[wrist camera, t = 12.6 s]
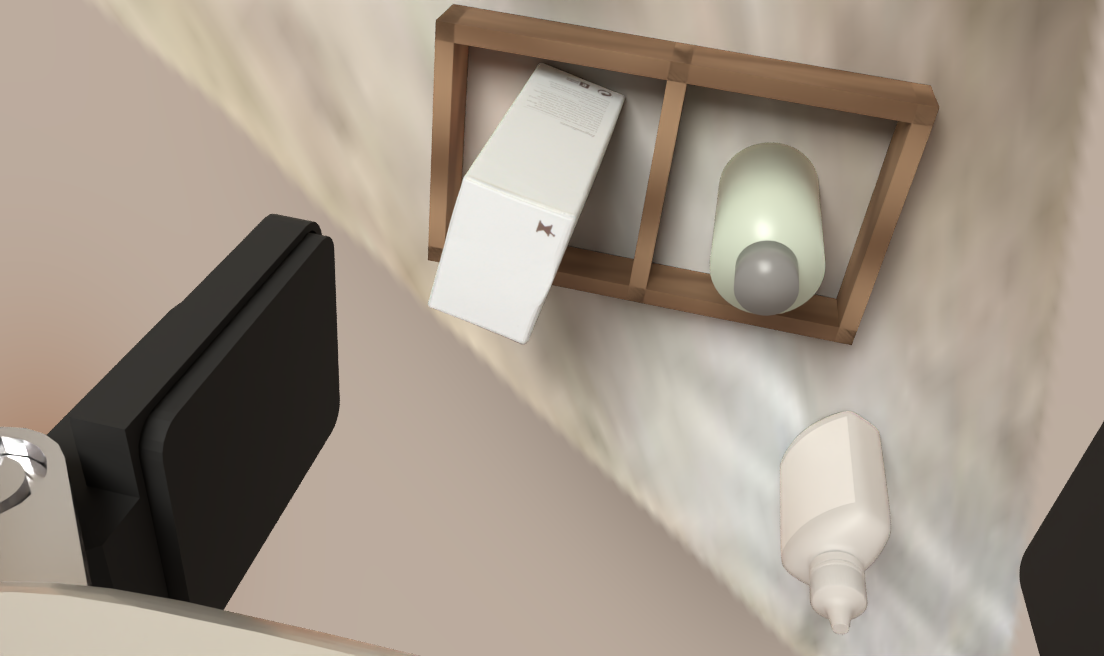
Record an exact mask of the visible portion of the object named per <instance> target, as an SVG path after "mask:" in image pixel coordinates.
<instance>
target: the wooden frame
mask: <svg viewBox="0 0 1104 656" xmlns="http://www.w3.org/2000/svg"><path fill="white" fill-rule="evenodd" d="M469 46H474V47H480V48H486V49H492V50H497V51H503V52H509V53H514V54H520V55H526V56H531V57H537V58H543V59H549V60H554V61H560V62H566V63H571V64H577V65H583V66H588V67H594V68H600V69H606V70H611V71H617V72H623V73H628V74H634V75H640V76H646V77H651V78H657V79H663V80H667V84H666V89H665V95H664V100H663V105H662V111H661V116H660V122H659V127H658V132H657V138H656V143H655V149H654V154H653V160H652V165H651V170H650V176H649V181H648V187H647V192H646V197H645V203H644V208H643V214H642V219H641V224H640V230H639V235H638V241H637V246H636V251H635V257H634V259H630V258H625V257H620V256H615V255H610V254H605V253H600V252H595V251H590V250H585V249H579V248H574V247H569V246H567V248H566V250H565V253H564V255H563V258H562V260H561V263H560V265H559V268H558V270H557V273H556V275H555V278H554V280H553V283H552V285H555V286H560V287H565V288H570V289H575V290H580V291H585V292H590V293H595V294H600V295H605V296H610V297H615V298H620V299H625V300H629V301H634V302H639V303H644V304H649V305H654V306H659V307H664V308H669V309H674V310H679V311H684V312H689V313H694V314H699V315H704V316H709V317H714V318H719V319H724V320H729V321H734V322H739V323H744V324H749V325H754V326H759V327H764V328H769V329H774V330H779V331H784V332H789V333H794V334H799V335H804V336H809V337H814V338H819V339H824V340H829V341H834V342H839V343H844V344H849V345H852V343H853V340H854V338H855V335H856V332H857V330H858V327H859V324H860V321H861V319H862V316H863V313H864V311H865V308H866V305H867V302H868V300H869V297H870V294H871V292H872V289H873V286H874V283H875V281H876V278H877V275H878V273H879V270H880V267H881V265H882V262H883V259H884V256H885V254H886V251H887V248H888V246H889V243H890V240H891V237H892V235H893V232H894V229H895V227H896V224H897V221H898V218H899V216H900V213H901V210H902V208H903V205H904V202H905V200H906V197H907V194H908V191H909V189H910V186H911V183H912V181H913V178H914V175H915V172H916V170H917V167H918V164H919V162H920V159H921V156H922V154H923V151H924V148H925V145H926V143H927V140H928V137H929V135H930V132H931V129H932V126H933V124H934V121H935V118H936V116H937V113H938V110H939V105H938V103H937V100H936V98H935V95H934V93H933V90H932V87H931V86H929V85H924V84H918V83H912V82H906V81H900V80H894V79H888V78H883V77H877V76H871V75H865V74H859V73H853V72H847V71H842V70H836V69H830V68H824V67H818V66H812V65H807V64H801V63H795V62H789V61H783V60H777V59H771V58H766V57H760V56H754V55H748V54H742V53H736V52H730V51H725V50H719V49H713V48H707V47H701V46H695V45H689V44H684V43H678V42H672V41H666V40H660V39H654V38H648V37H643V36H637V35H631V34H625V33H619V32H613V31H608V30H602V29H596V28H590V27H584V26H578V25H572V24H567V23H561V22H555V21H549V20H543V19H537V18H531V17H526V16H520V15H514V14H508V13H502V12H496V11H490V10H485V9H479V8H473V7H467V6H461V5H455V4H453V5H452V6H451V7H450V8H449V9H447V10H446V11H445V12H444V13H443V14H442V15H441V16H440V17H439V18H438V19H437V20H436V31H435V62H434V92H433V123H432V154H431V184H430V215H429V245H428V260H430V261H435V262H440V259H441V255H442V252H443V248H444V244H445V240H446V236H447V232H448V228H449V224H450V220H451V217H452V213H453V210H454V206H455V203H456V200H457V197H458V194H459V191H460V188H461V181H462V163H463V144H464V126H465V108H466V89H467V71H468V52H469ZM687 84H691V85H697V86H703V87H708V88H714V89H720V90H725V91H731V92H737V93H743V94H748V95H754V96H760V97H765V98H771V99H777V100H782V101H788V102H794V103H800V104H805V105H811V106H817V107H822V108H828V109H834V110H839V111H845V112H851V113H857V114H862V115H868V116H874V117H879V118H885V119H891V120H897V121H898V122H897V125H896V128H895V130H894V133H893V136H892V139H891V142H890V145H889V148H888V151H887V154H886V157H885V160H884V162H883V165H882V168H881V171H880V174H879V177H878V180H877V183H876V186H875V189H874V191H873V194H872V197H871V200H870V203H869V206H868V209H867V212H866V215H865V218H864V220H863V223H862V226H861V229H860V232H859V235H858V238H857V241H856V244H855V247H854V249H853V252H852V255H851V258H850V261H849V264H848V267H847V270H846V273H845V276H844V278H843V281H842V284H841V287H840V290H839V293H838V296H837V299H834V298H829V297H824V296H819V295H813V296H812V297H811V298H810V299H809V300H808V301H807V302H805V303H804V304H803V305H801V306H799V307H797V308H795V309H793V310H791V311H788V312H785V313H780V314H776V315H769V316H763V315H757V314H753V313H749V312H746V311H743V310H740V309H738V308H736V307H734V306H733V305H731V304H730V303H728V302H727V301H726V300H725V299H724V298H723V297H722V296H721V295H720V294H719V293H718V291H717V290H716V288H715V286H714V284H713V282H712V279H711V275H710V274H707V273H702V272H697V271H692V270H687V269H681V268H676V267H671V266H666V265H661V264H656V263H652V259H653V254H654V249H655V244H656V239H657V234H658V229H659V224H660V219H661V214H662V209H663V204H664V199H665V194H666V189H667V184H668V179H669V174H670V169H671V164H672V159H673V154H674V149H675V143H676V138H677V133H678V128H679V123H680V118H681V113H682V108H683V103H684V98H685V93H686V88H687Z"/></svg>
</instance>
